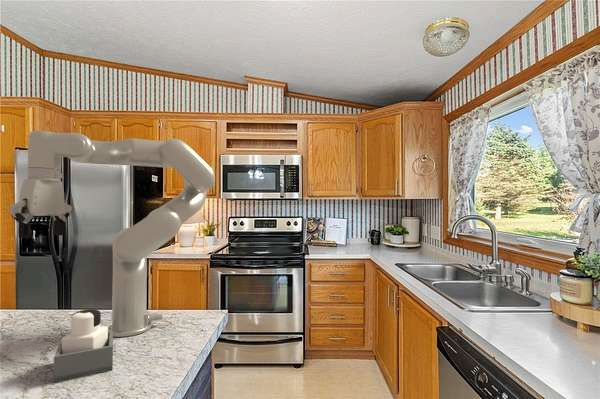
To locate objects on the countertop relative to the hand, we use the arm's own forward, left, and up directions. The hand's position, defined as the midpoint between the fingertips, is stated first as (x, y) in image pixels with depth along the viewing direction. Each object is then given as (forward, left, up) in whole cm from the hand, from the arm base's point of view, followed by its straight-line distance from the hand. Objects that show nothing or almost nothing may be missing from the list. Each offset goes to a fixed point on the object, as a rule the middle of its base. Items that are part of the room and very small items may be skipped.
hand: (42, 236), depth 92 cm
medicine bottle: (-12, +21, -29) cm, 38 cm away
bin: (-12, +21, -30) cm, 38 cm away
